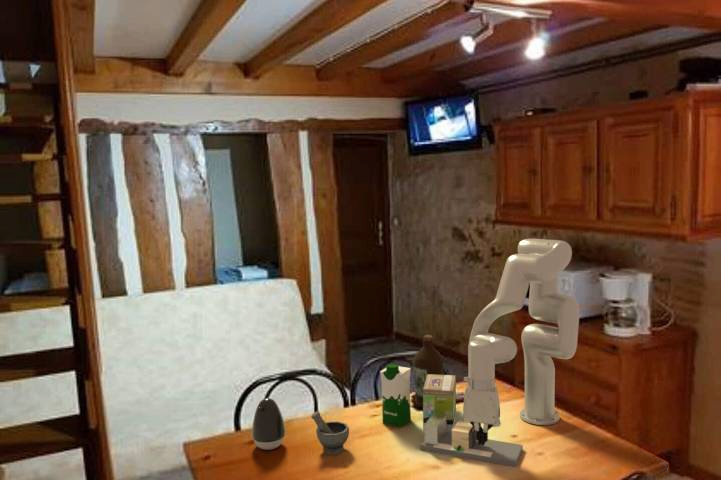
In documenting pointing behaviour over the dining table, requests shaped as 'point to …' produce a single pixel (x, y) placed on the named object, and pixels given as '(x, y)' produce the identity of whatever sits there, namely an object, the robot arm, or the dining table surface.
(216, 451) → the dining table surface
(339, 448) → the mortar and pestle
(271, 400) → the aroma diffuser
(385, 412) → the milk carton
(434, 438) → the light grey block
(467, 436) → the block
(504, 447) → the base
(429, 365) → the olive oil
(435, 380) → the tea box
